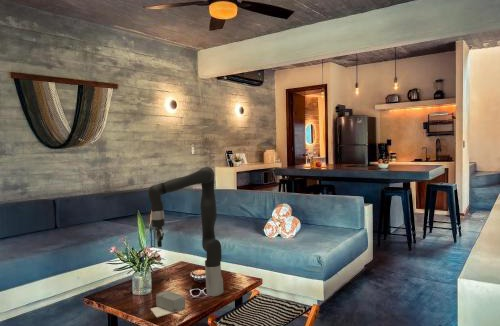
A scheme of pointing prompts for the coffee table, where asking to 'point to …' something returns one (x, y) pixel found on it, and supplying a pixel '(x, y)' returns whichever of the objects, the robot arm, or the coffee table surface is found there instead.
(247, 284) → the coffee table surface
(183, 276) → the coffee table surface
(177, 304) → the skincare box
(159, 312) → the mat
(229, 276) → the coffee table surface
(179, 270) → the coffee table surface
